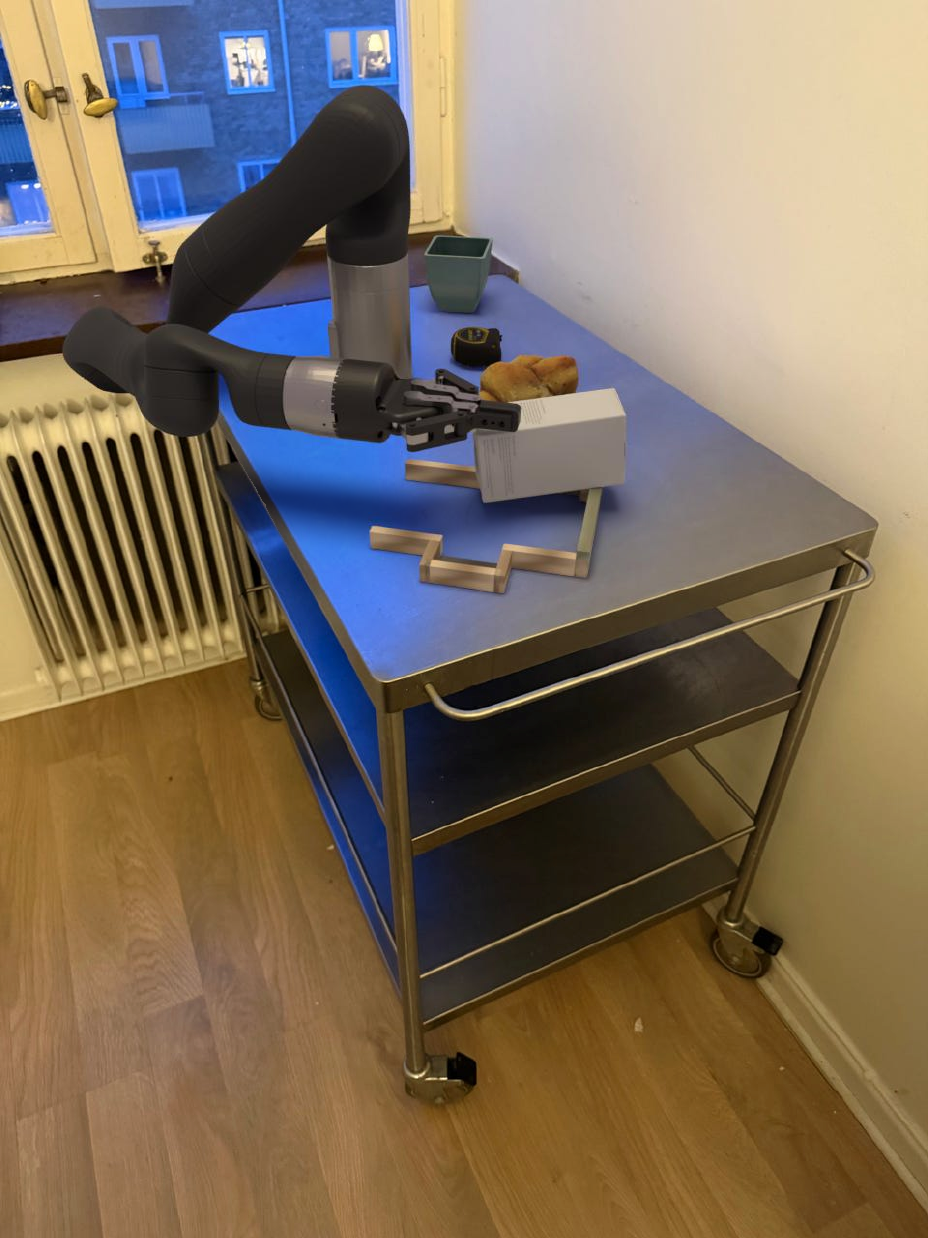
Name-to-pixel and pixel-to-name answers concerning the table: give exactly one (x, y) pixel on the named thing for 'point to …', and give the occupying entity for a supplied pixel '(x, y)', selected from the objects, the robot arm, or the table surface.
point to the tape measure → (476, 346)
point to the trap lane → (511, 556)
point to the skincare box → (554, 447)
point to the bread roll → (529, 378)
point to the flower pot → (458, 271)
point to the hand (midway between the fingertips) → (519, 418)
